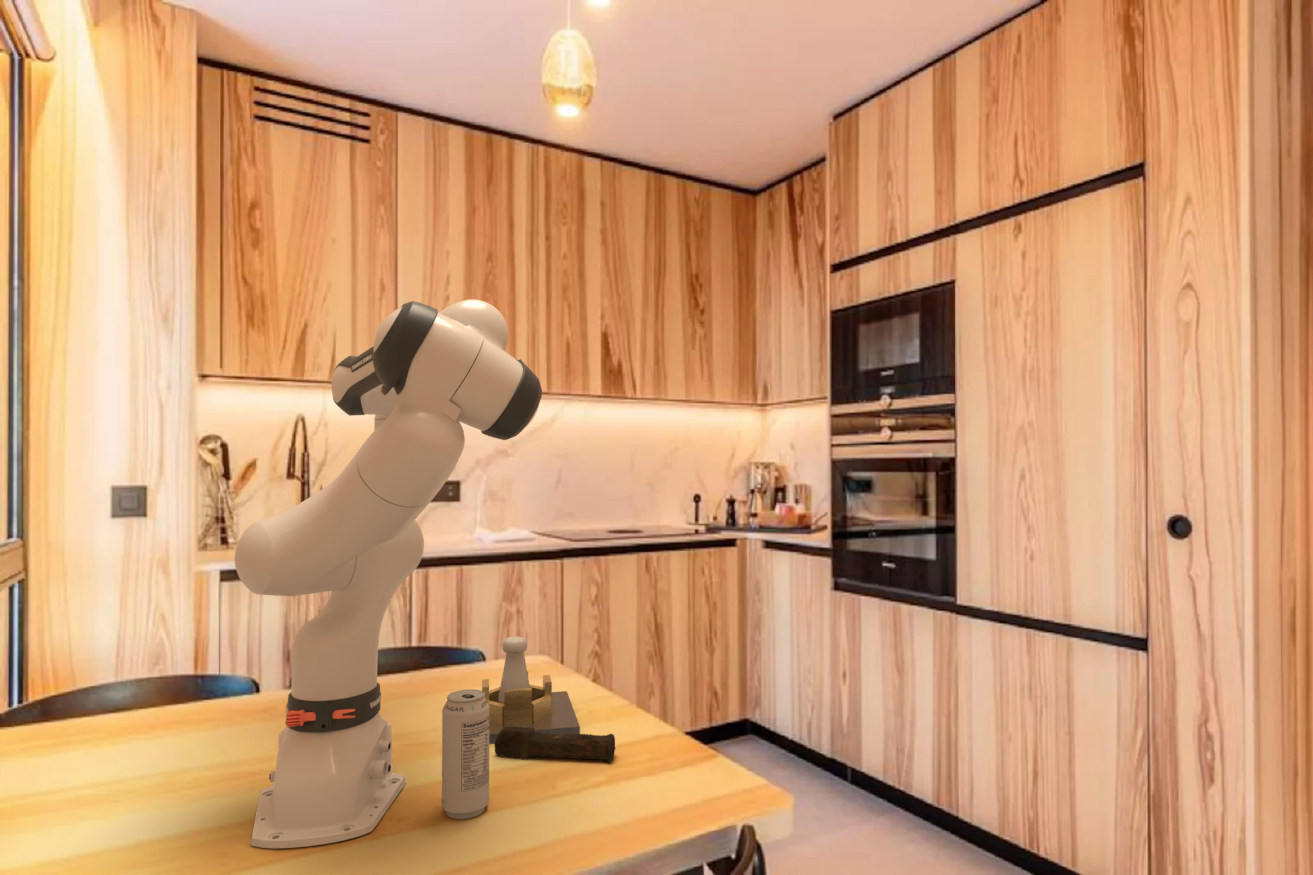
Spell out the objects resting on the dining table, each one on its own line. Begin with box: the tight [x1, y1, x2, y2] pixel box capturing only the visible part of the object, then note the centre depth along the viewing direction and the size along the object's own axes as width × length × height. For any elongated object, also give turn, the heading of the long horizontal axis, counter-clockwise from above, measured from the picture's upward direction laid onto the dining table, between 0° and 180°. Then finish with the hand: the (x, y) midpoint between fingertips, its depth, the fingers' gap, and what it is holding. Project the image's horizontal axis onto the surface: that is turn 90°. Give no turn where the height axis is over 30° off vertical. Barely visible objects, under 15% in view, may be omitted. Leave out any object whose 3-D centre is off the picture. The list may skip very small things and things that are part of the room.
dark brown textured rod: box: [494, 726, 616, 764], centre depth 115 cm, size 19×4×5 cm, turn 81°
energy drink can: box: [441, 689, 490, 820], centre depth 97 cm, size 6×6×15 cm
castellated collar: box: [481, 670, 581, 745], centre depth 131 cm, size 20×20×7 cm
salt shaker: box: [498, 635, 530, 704], centre depth 132 cm, size 6×6×13 cm
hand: (399, 510), depth 136 cm, fingers open, 8 cm apart
